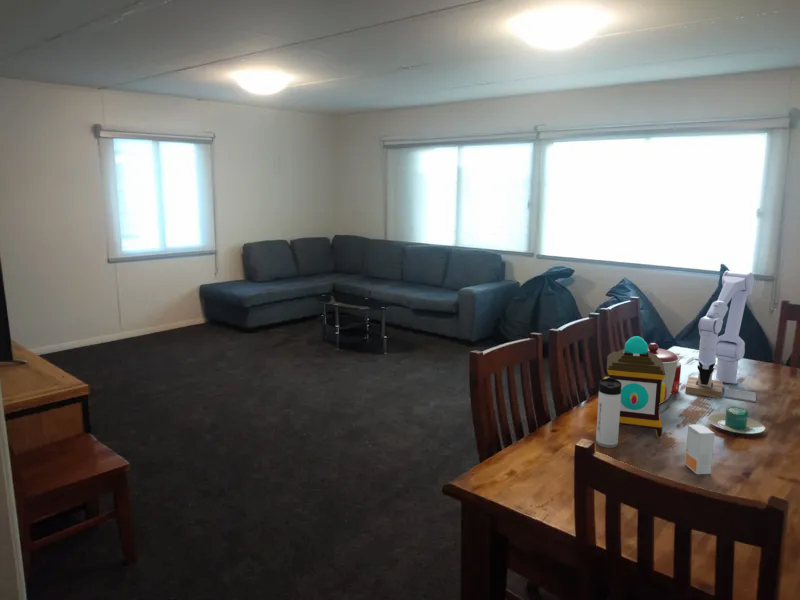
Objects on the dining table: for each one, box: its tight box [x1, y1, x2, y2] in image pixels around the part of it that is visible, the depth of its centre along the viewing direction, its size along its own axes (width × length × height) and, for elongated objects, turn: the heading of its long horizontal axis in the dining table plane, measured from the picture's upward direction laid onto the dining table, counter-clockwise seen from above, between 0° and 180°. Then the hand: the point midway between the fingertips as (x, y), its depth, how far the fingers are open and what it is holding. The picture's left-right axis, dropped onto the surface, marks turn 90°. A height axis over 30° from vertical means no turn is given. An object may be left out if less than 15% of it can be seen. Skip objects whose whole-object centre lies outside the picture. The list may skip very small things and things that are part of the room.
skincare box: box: [684, 424, 716, 475], centre depth 158 cm, size 6×4×12 cm
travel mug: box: [595, 378, 622, 449], centre depth 174 cm, size 6×7×20 cm
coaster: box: [724, 388, 757, 403], centre depth 216 cm, size 10×10×1 cm
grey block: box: [697, 372, 713, 387], centre depth 222 cm, size 4×4×7 cm
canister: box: [647, 342, 681, 403], centre depth 212 cm, size 18×18×21 cm
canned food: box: [671, 361, 682, 394], centre depth 221 cm, size 8×8×11 cm
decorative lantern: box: [602, 335, 667, 438], centre depth 187 cm, size 20×20×30 cm
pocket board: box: [684, 376, 724, 399], centre depth 222 cm, size 14×12×2 cm
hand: (704, 382), depth 222 cm, fingers closed on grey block, 4 cm apart
